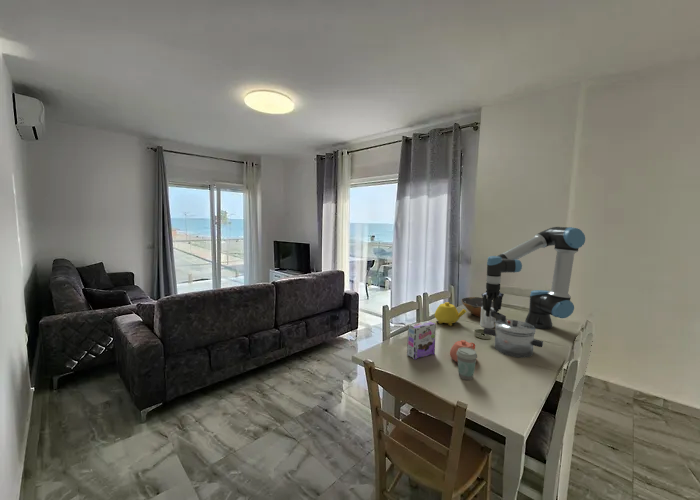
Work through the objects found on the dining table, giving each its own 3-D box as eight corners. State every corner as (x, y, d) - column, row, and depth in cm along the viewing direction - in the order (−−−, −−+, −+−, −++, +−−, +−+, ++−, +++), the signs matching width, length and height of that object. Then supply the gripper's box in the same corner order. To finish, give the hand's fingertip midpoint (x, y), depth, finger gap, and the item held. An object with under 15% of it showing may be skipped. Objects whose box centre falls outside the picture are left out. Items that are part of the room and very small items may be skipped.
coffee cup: (452, 372, 138) (453, 347, 137) (470, 371, 139) (471, 346, 137) (460, 382, 129) (461, 355, 128) (479, 381, 130) (481, 355, 129)
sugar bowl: (444, 357, 153) (445, 337, 151) (466, 352, 158) (467, 333, 157) (461, 368, 141) (462, 347, 140) (484, 363, 146) (485, 343, 145)
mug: (488, 330, 188) (489, 312, 187) (475, 327, 194) (476, 308, 193) (496, 326, 196) (497, 308, 195) (483, 322, 202) (484, 305, 201)
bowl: (454, 314, 219) (455, 301, 218) (470, 307, 236) (471, 295, 235) (489, 323, 201) (490, 308, 200) (504, 315, 218) (505, 301, 216)
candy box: (414, 360, 149) (415, 328, 148) (406, 355, 155) (407, 324, 153) (435, 354, 156) (436, 323, 154) (427, 349, 161) (428, 320, 159)
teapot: (467, 322, 203) (468, 302, 201) (463, 329, 190) (464, 308, 188) (438, 317, 213) (438, 298, 212) (431, 323, 200) (432, 303, 199)
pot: (544, 351, 160) (546, 329, 159) (538, 363, 146) (540, 340, 145) (488, 337, 178) (489, 317, 177) (478, 347, 164) (479, 326, 163)
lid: (544, 333, 152) (544, 326, 152) (511, 335, 149) (511, 328, 149) (501, 312, 184) (502, 307, 184) (473, 314, 181) (473, 308, 180)
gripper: (500, 280, 182) (498, 318, 185) (477, 281, 179) (475, 320, 182) (509, 283, 175) (507, 322, 177) (485, 284, 172) (483, 324, 174)
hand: (491, 321), depth 179 cm, fingers closed on lid, 3 cm apart
